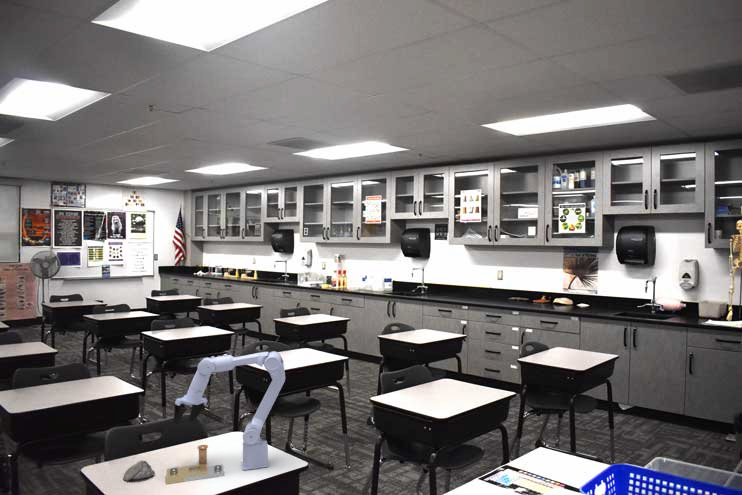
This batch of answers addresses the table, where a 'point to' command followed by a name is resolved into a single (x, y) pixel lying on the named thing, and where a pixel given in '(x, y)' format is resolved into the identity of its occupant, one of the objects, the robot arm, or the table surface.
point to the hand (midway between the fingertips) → (183, 422)
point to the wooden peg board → (193, 473)
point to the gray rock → (139, 471)
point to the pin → (203, 454)
